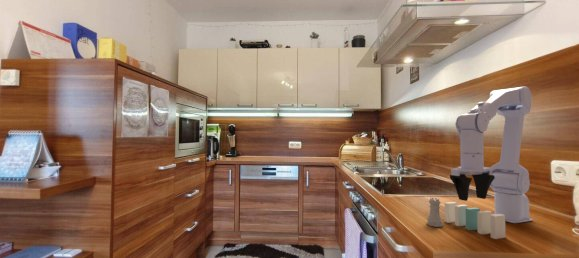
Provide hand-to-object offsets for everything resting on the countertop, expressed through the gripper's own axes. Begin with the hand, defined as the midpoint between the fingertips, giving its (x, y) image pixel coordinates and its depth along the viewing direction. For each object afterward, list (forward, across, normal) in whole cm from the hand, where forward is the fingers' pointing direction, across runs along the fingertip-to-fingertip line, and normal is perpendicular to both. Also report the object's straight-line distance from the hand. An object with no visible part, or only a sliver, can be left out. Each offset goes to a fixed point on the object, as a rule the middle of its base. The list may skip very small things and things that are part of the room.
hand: (472, 199), depth 78 cm
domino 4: (+9, 0, +4) cm, 9 cm away
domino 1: (+9, 0, -7) cm, 11 cm away
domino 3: (+9, 0, 0) cm, 9 cm away
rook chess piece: (+9, +8, -6) cm, 13 cm away
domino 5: (+9, 0, +7) cm, 11 cm away
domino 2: (+9, 0, -4) cm, 9 cm away
